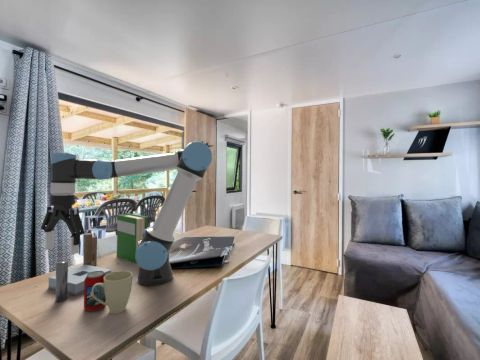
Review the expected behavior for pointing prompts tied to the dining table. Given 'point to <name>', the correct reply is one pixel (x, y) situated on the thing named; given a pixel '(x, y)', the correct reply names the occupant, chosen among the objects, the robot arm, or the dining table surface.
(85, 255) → the wooden block
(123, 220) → the hardback book
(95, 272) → the beverage can
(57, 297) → the pin
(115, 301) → the mug
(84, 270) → the bore block
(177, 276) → the dining table surface
